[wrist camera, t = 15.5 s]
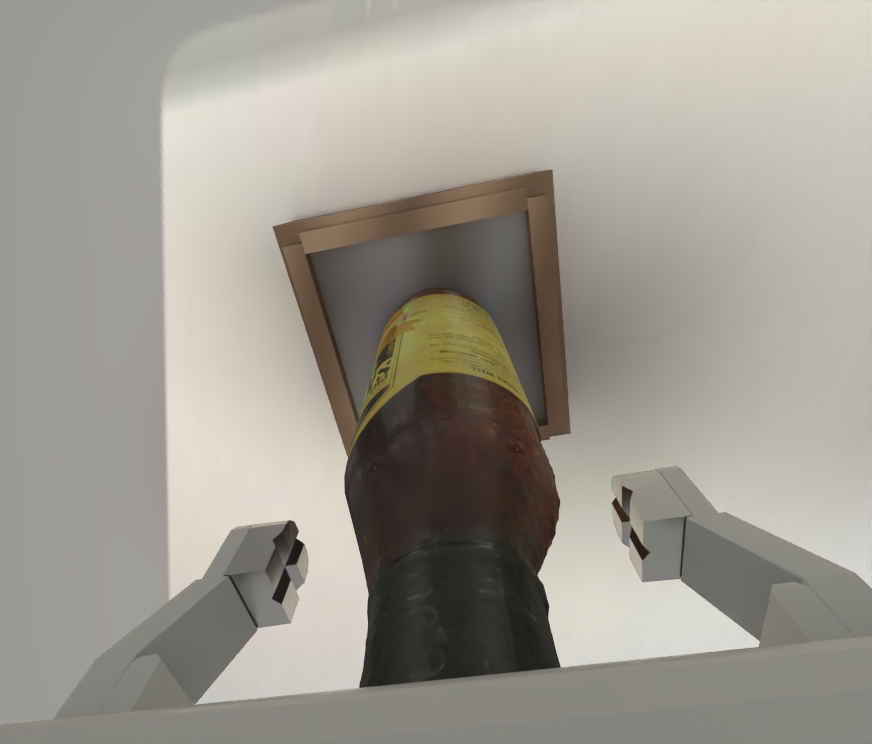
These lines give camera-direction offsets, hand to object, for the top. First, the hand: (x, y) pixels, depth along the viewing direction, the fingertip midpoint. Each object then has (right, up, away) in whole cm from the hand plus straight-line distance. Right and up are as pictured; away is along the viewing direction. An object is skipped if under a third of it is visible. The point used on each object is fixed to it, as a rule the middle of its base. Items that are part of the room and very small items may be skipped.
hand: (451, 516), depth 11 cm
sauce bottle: (0, +5, +13) cm, 14 cm away
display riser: (0, +7, +16) cm, 17 cm away
